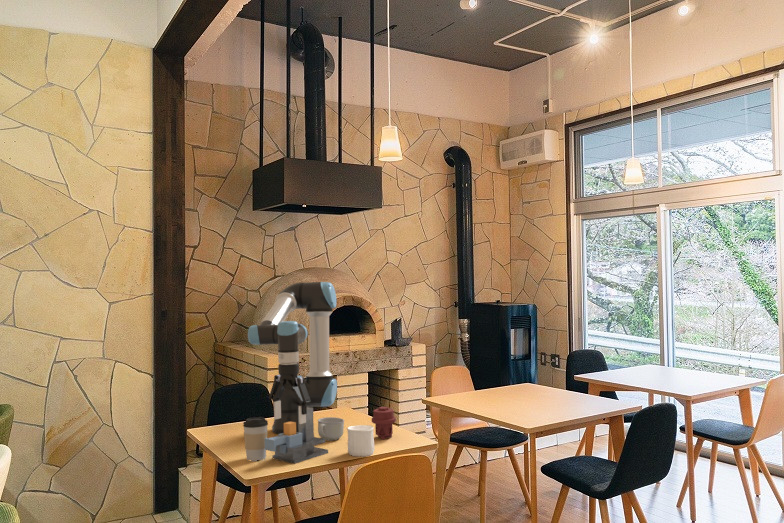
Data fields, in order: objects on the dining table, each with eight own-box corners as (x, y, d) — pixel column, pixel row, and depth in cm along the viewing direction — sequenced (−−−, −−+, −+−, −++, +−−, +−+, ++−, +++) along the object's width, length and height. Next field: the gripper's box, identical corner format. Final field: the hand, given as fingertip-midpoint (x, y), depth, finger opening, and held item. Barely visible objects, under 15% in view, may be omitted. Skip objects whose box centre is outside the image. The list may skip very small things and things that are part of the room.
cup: (377, 455, 237) (376, 429, 237) (351, 458, 234) (350, 431, 234) (371, 449, 246) (370, 423, 246) (345, 451, 243) (345, 426, 243)
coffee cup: (245, 455, 241) (244, 415, 241) (270, 454, 241) (269, 414, 242) (242, 462, 232) (241, 421, 232) (267, 461, 232) (266, 420, 233)
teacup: (330, 434, 271) (329, 415, 271) (349, 437, 264) (349, 418, 264) (307, 441, 259) (307, 422, 259) (327, 445, 253) (327, 425, 253)
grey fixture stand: (272, 458, 236) (271, 411, 236) (306, 448, 249) (305, 404, 250) (294, 463, 228) (293, 415, 229) (328, 452, 242) (327, 407, 242)
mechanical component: (398, 435, 267) (393, 441, 257) (375, 434, 269) (369, 440, 259) (397, 405, 267) (392, 410, 257) (374, 405, 269) (368, 409, 259)
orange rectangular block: (290, 453, 237) (290, 421, 238) (296, 455, 235) (296, 422, 236) (284, 455, 235) (283, 423, 235) (290, 457, 233) (289, 424, 233)
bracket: (263, 455, 229) (263, 438, 229) (291, 447, 239) (290, 430, 240) (275, 458, 225) (274, 440, 226) (302, 450, 235) (302, 433, 236)
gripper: (258, 362, 241) (260, 418, 240) (304, 366, 225) (305, 427, 225) (274, 359, 247) (275, 415, 246) (319, 364, 231) (321, 423, 231)
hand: (289, 421), depth 235 cm, fingers open, 13 cm apart
